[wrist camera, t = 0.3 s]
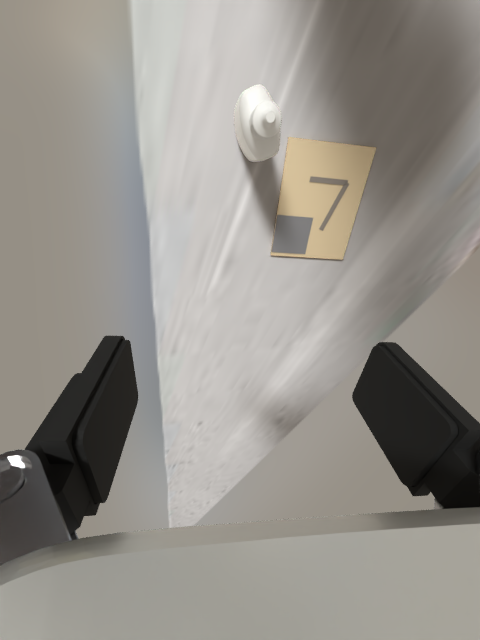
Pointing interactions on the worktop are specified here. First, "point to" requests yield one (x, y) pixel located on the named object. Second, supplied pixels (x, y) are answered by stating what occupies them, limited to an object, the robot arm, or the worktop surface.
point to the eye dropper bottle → (257, 124)
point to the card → (319, 197)
